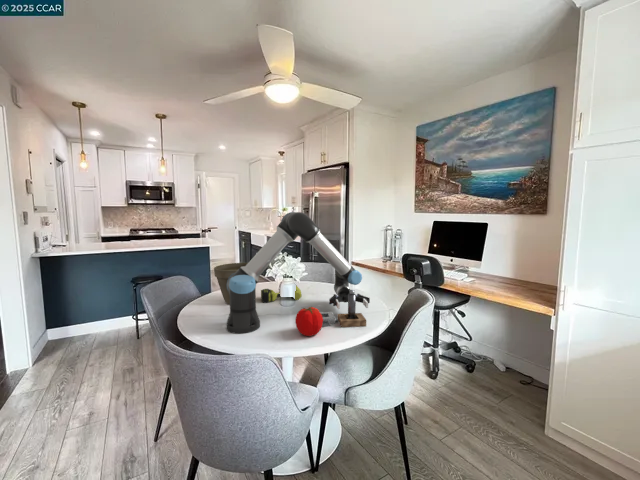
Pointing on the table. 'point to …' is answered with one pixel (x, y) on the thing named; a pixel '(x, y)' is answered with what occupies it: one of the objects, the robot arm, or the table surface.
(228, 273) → the plant pot
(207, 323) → the table surface
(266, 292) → the cordless drill
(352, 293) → the metal bottle
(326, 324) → the bar
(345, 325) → the frame
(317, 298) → the table surface
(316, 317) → the tomato
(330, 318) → the socket collar
